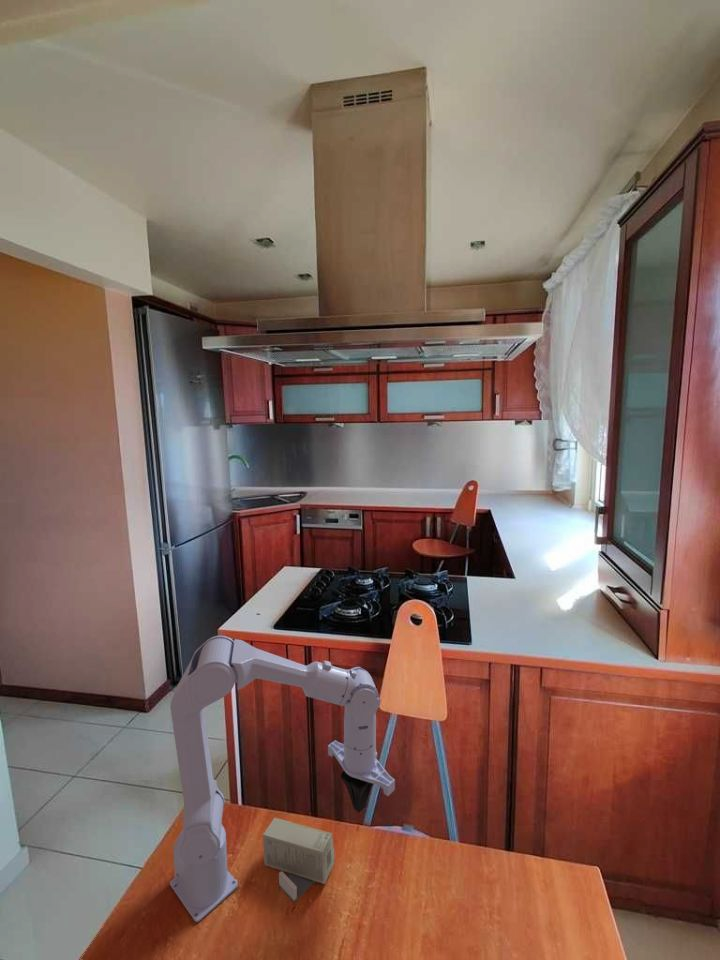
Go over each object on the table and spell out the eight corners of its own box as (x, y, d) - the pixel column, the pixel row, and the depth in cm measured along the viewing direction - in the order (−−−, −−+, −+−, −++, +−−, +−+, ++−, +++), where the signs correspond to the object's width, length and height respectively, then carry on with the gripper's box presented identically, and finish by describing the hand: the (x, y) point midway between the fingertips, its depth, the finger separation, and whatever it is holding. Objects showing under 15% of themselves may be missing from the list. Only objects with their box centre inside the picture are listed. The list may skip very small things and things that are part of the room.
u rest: (279, 886, 79) (278, 873, 78) (319, 848, 86) (319, 836, 86) (294, 902, 76) (293, 889, 76) (334, 861, 83) (334, 849, 83)
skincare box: (333, 832, 82) (275, 814, 86) (322, 853, 77) (262, 833, 82) (334, 865, 82) (276, 845, 86) (324, 887, 78) (263, 866, 82)
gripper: (405, 746, 79) (404, 816, 81) (346, 711, 89) (346, 774, 90) (380, 769, 74) (379, 843, 76) (319, 729, 83) (320, 795, 85)
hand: (359, 807), depth 83 cm, fingers closed
